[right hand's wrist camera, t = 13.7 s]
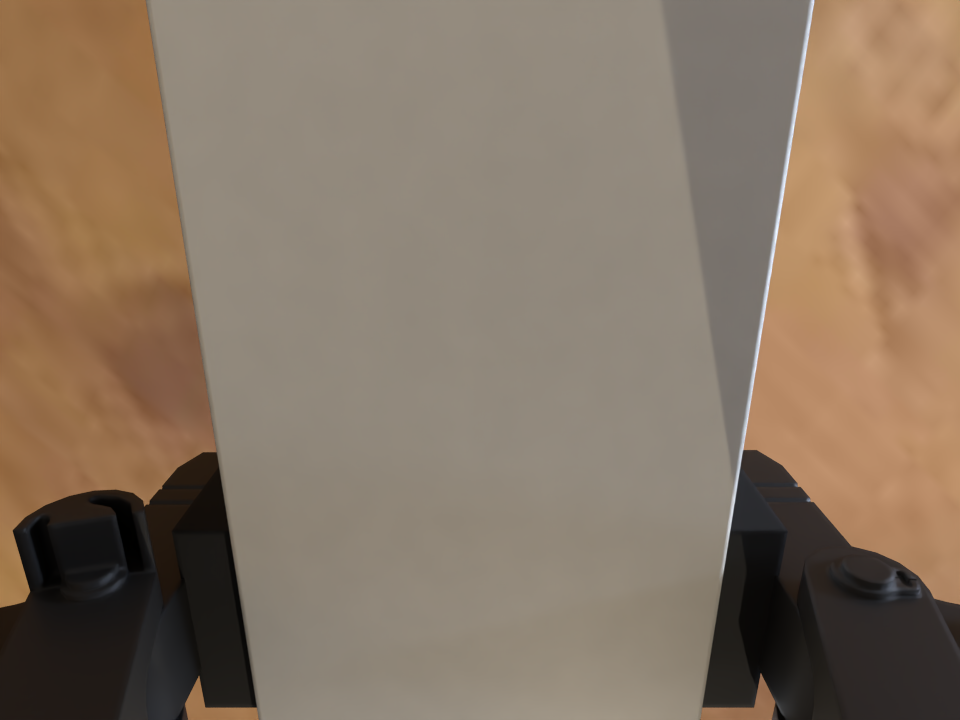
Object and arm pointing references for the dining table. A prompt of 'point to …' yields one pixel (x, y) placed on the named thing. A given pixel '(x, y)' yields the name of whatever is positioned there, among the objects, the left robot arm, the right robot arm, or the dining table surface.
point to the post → (479, 335)
